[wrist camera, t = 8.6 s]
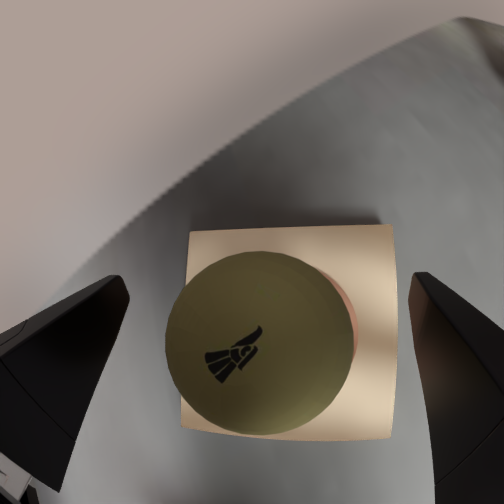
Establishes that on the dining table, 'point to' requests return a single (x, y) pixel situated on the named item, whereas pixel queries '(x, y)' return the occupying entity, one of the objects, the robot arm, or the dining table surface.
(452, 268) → the dining table surface
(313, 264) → the square board
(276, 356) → the light bulb
